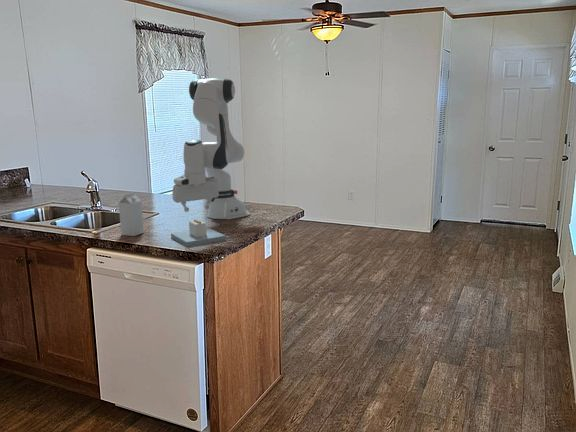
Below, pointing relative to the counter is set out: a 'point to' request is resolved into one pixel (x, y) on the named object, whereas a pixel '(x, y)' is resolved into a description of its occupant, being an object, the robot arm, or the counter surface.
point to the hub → (197, 238)
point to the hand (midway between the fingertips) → (196, 210)
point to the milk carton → (131, 215)
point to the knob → (197, 228)
